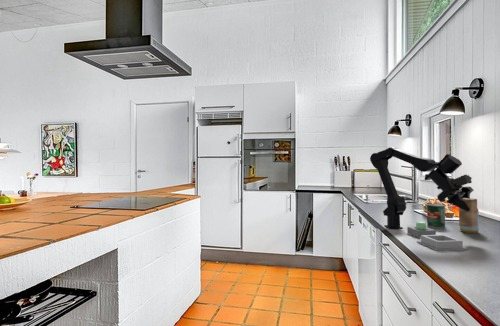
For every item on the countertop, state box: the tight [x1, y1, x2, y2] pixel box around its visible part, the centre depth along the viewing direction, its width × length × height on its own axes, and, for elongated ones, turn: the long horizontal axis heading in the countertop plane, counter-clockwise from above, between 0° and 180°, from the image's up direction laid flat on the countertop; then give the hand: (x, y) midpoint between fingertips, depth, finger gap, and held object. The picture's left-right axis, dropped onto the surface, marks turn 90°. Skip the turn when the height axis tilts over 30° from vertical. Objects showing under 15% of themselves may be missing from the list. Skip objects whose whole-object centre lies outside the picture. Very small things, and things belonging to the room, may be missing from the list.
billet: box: [458, 197, 478, 227], centre depth 123 cm, size 4×4×11 cm
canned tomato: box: [426, 203, 446, 229], centre depth 154 cm, size 8×8×11 cm
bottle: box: [459, 207, 480, 234], centre depth 141 cm, size 7×7×15 cm
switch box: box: [406, 226, 437, 239], centre depth 136 cm, size 8×8×3 cm
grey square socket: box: [416, 234, 468, 252], centre depth 119 cm, size 12×12×3 cm
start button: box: [415, 221, 427, 230], centre depth 136 cm, size 4×4×5 cm
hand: (471, 210), depth 121 cm, fingers closed on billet, 4 cm apart
